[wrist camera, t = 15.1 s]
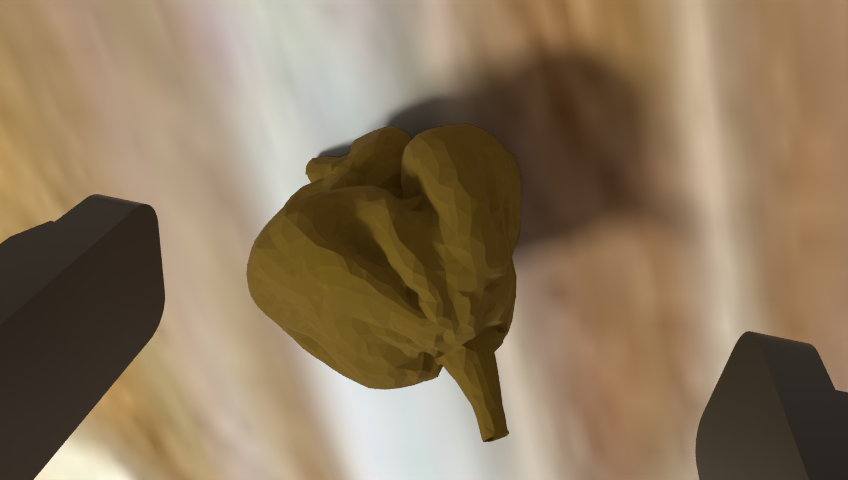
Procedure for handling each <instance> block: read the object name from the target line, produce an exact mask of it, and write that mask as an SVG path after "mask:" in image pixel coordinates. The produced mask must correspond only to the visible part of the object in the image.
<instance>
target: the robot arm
mask: <svg viewBox="0 0 848 480" xmlns="http://www.w3.org/2000/svg"><path fill="white" fill-rule="evenodd" d="M164 303H165V290H164V279H163V269H162V258H161V248H160V238H159V227H158V219H157V215H156V212H155V210H154V209H153V208H152V207H151V206H150V205H147V204H143V203H138V202H133V201H128V200H123V199H118V198H114V197H109V196H104V195H99V194H94V195H91V196H89V197H87V198H86V199H84V200H83V201H82V202H80V203H79V204H78V205H76V206H75V207H74V208H73V209H71V210H70V211H69V212H67V213H66V214H65V215H63V216H62V217H61V218H59V219H58V220H57V221H55V222H53V221H49V222H46V223H44V224H41V225H39V226H36V227H34V228H31V229H29V230H26V231H23V232H21V233H18V234H16V235H13V236H11V237H9V238H8V239H6V240H5V241H4V242H2V243H1V244H0V480H34V478H35V477H36V476H37V475H38V474H39V472H40V471H41V470H42V469H43V468H44V466H45V465H46V464H47V463H48V462H49V460H50V459H51V458H52V457H53V456H54V454H55V453H56V452H57V451H58V450H59V448H60V447H61V446H62V445H63V444H64V442H65V441H66V440H67V439H68V438H69V436H70V435H71V434H72V433H73V432H74V430H75V429H76V428H77V427H78V426H79V424H80V423H81V422H82V421H83V420H84V418H85V417H86V416H87V415H88V414H89V412H90V411H91V410H92V409H93V408H94V406H95V405H96V404H97V403H98V402H99V400H100V399H101V398H102V397H103V395H104V394H105V393H106V392H107V391H108V389H109V388H110V387H111V386H112V385H113V383H114V382H115V381H116V380H117V379H118V377H119V376H120V375H121V374H122V373H123V371H124V370H125V369H126V368H127V367H128V365H129V364H130V363H131V362H132V361H133V359H134V358H135V357H136V356H137V355H138V353H139V352H140V351H141V350H142V349H143V347H144V346H145V345H146V344H147V343H148V341H149V340H150V339H151V338H152V336H153V335H154V333H155V331H156V330H157V328H158V325H159V323H160V320H161V317H162V314H163V310H164ZM696 464H697V469H698V474H699V480H848V393H847V392H843V391H838V390H835V388H834V386H833V384H832V381H831V379H830V377H829V375H828V373H827V371H826V369H825V367H824V364H823V362H822V360H821V358H820V356H819V354H818V352H817V350H816V348H815V347H814V346H813V345H811V344H808V343H804V342H799V341H794V340H789V339H784V338H780V337H775V336H770V335H765V334H760V333H755V332H750V331H748V332H745V333H744V334H743V335H742V336H741V337H740V338H739V340H738V341H737V343H736V345H735V347H734V349H733V351H732V353H731V355H730V357H729V359H728V362H727V364H726V366H725V368H724V370H723V372H722V374H721V376H720V378H719V381H718V383H717V385H716V387H715V389H714V391H713V393H712V395H711V397H710V400H709V402H708V404H707V406H706V408H705V410H704V412H703V415H702V417H701V420H700V423H699V427H698V432H697V438H696Z"/></svg>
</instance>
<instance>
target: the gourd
mask: <svg viewBox="0 0 848 480" xmlns="http://www.w3.org/2000/svg"><path fill="white" fill-rule="evenodd" d="M306 174H307V175H308V178H309V180H310V181H311V183H310V184H308V185H305V186H303V187H302V188H300V189H299V190H298V191H297V192H296V193H295V194H293V195H292V196H291V197H290V199H289V200H288V201H287V202H286V204H285V205H284V207H283V208H282V209H281V210H280V211H279V212H278V213H277V214H276V215H275V216H274V217H273V218H272V219H271V220H270V221H269V222H268V223H267V225H266V226H265V227H264V228H263V230H262V231H261V233H260V234H259V236H258V237H257V238H256V240H255V242H254V244H253V247H252V249H251V253H250V257H249V260H248V264H247V281H248V287H249V291H250V294H251V297H252V298H253V300H254V302H255V303H256V305H257V306H258V307H259V308H260V309H261V310H262V311H263V312H264V313H265V314H266V315H267V316H268V317H269V318H271V319H272V320H273V321H274V322H275V323H277V324H278V325H279V326H280V327H281V328H282V329H283V330H284V331H285V332H286V333H287V334H289V335H290V336H291V337H292V338H293V339H294V340H295V341H296V342H297V343H298V344H299V345H300V346H301V347H302V348H303V349H305V350H306V351H307V352H309V353H310V354H311V355H313V356H314V357H316V358H317V359H319V360H320V361H322V362H324V363H325V364H326V365H328V366H329V367H331V368H332V369H333V370H335V371H337V372H338V373H340V374H342V375H343V376H345V377H347V378H349V379H351V380H353V381H355V382H357V383H359V384H361V385H364V386H366V387H368V388H374V389H395V388H402V387H407V386H411V385H415V384H418V383H421V382H423V381H428V380H432V379H434V378H436V377H438V375H439V373H440V371H441V369H442V367H443V366H444V368H445V369H446V370H447V371H448V372H449V374H450V375H451V376H452V377H453V378H454V379H455V380H456V382H457V383H458V385H459V386H460V388H461V389H462V391H463V393H464V394H465V396H466V397H467V399H468V400H469V402H470V403H471V405H472V407H473V409H474V412H475V415H476V417H477V421H478V425H479V429H480V433H481V437H482V440H483V442H490V441H494V440H497V439H500V438H502V437H505V436H507V435H508V434H509V431H508V429H507V426H506V419H505V413H504V409H503V405H502V397H501V389H500V382H499V375H498V369H497V363H496V358H495V353H494V352H495V351H496V350H497V349H498V348H499V347H500V346H501V345H502V343H503V340H504V338H505V336H506V335H507V333H508V331H509V328H510V325H511V322H512V318H513V311H514V304H515V298H516V273H515V268H514V264H513V260H512V254H513V251H514V249H515V246H516V243H517V240H518V237H519V232H520V215H521V175H520V171H519V168H518V166H517V163H516V159H515V154H511V153H510V152H509V151H508V150H507V149H506V147H504V146H502V145H501V144H500V143H499V141H498V140H497V139H496V138H495V137H494V136H492V135H491V134H489V133H488V132H486V131H485V130H483V129H482V128H479V127H476V126H472V125H469V124H452V125H446V126H441V127H435V128H431V129H428V130H426V131H423V132H421V133H419V134H417V135H416V136H415V137H414V138H413V139H412V138H411V137H410V136H409V135H408V134H407V133H406V132H405V131H402V130H400V129H397V128H395V127H384V128H381V129H378V130H375V131H373V132H370V133H368V134H365V135H364V136H362V137H360V138H358V139H356V140H355V141H354V142H353V144H352V146H351V148H350V149H349V154H347V155H344V156H342V157H339V158H337V157H329V156H325V157H318V158H312V159H311V160H310V161H309V162H308V164H307V166H306Z"/></svg>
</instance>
